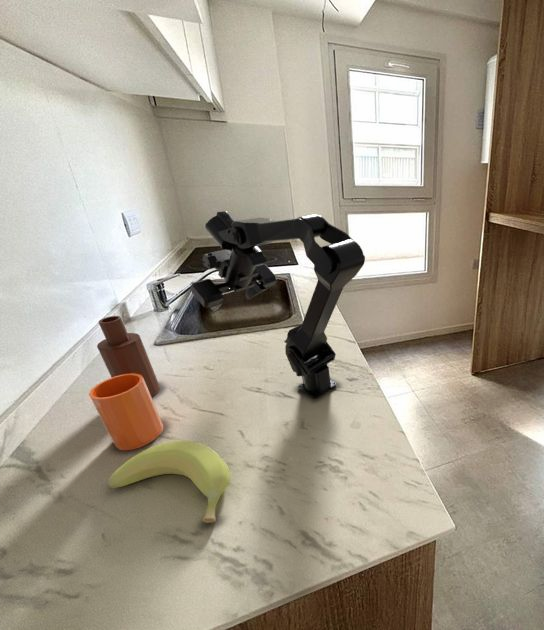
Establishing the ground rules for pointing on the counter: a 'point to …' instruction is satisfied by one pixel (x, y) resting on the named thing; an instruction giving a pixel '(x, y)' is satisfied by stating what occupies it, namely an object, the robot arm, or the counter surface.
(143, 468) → the banana
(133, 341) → the sauce bottle
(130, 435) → the orange plastic tumbler
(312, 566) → the counter surface
